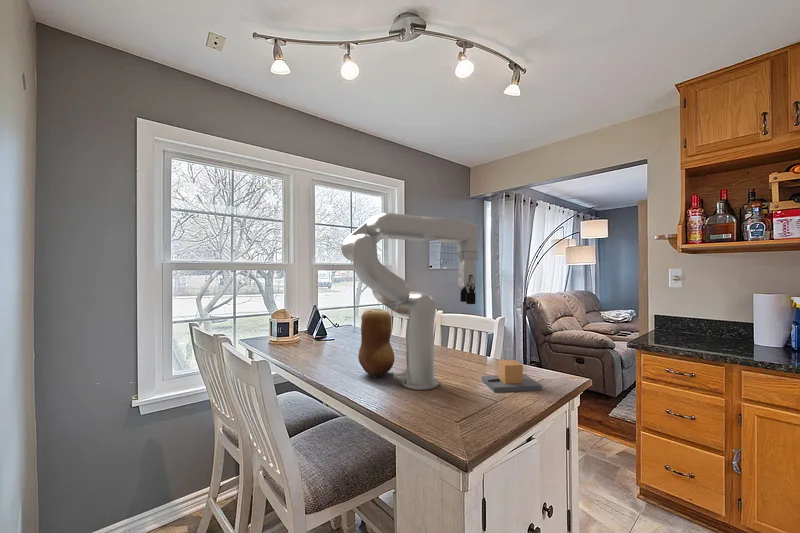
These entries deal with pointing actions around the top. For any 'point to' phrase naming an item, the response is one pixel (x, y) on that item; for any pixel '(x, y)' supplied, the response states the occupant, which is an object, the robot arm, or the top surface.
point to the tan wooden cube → (510, 371)
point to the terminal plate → (511, 384)
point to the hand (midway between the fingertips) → (467, 302)
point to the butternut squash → (376, 342)
